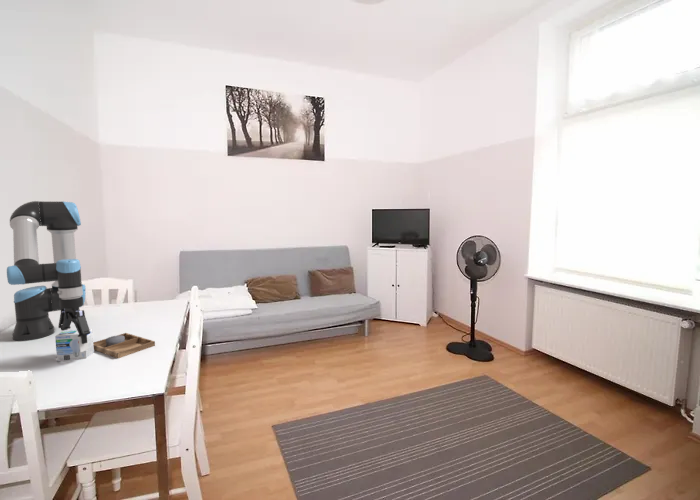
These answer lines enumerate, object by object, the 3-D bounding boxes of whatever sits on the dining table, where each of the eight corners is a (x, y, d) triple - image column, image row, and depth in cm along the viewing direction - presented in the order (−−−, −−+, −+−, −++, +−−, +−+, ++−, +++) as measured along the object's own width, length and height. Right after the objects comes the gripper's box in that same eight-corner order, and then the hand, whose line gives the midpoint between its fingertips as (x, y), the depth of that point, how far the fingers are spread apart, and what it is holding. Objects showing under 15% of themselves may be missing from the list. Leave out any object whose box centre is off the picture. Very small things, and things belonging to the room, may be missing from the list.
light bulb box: (56, 361, 139) (54, 335, 137) (65, 355, 145) (63, 330, 144) (87, 359, 141) (85, 333, 140) (94, 352, 148) (92, 328, 147)
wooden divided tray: (89, 348, 152) (88, 343, 152) (126, 337, 166) (126, 332, 165) (118, 359, 141) (117, 353, 141) (155, 346, 155) (154, 341, 155)
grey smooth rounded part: (102, 345, 155) (102, 339, 154) (119, 340, 161) (119, 334, 160) (111, 348, 151) (111, 342, 151) (128, 343, 157) (127, 337, 157)
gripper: (45, 295, 143) (50, 345, 145) (75, 303, 131) (80, 356, 133) (67, 292, 150) (71, 339, 152) (97, 298, 138) (101, 350, 140)
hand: (75, 348), depth 143 cm, fingers open, 13 cm apart
